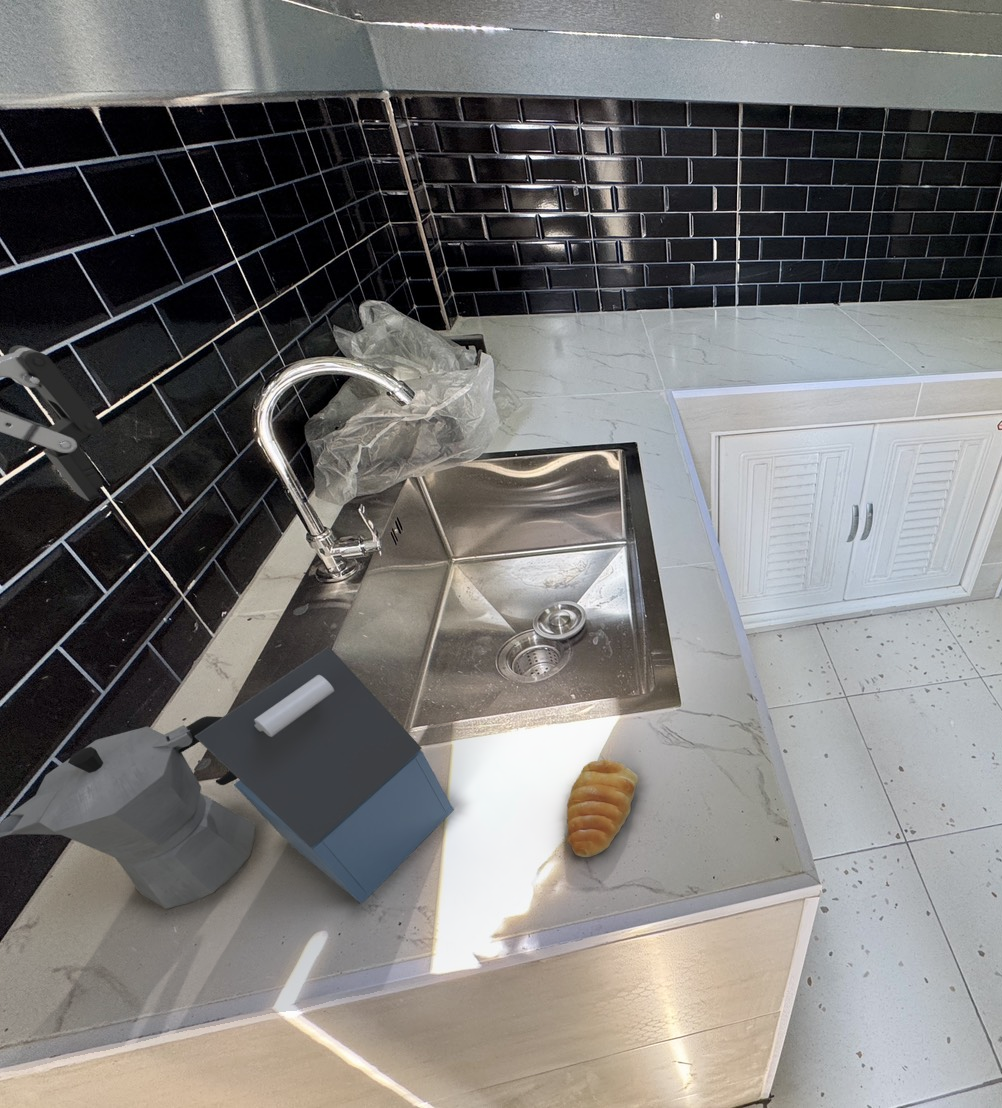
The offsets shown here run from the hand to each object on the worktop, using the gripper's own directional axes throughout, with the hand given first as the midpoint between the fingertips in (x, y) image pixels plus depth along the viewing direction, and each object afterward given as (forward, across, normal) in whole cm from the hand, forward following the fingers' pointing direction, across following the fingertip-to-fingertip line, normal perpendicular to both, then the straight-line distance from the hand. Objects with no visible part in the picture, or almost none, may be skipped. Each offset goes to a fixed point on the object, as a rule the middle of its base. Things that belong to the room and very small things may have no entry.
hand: (14, 525), depth 42 cm
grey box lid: (+20, -4, +15) cm, 25 cm away
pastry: (+36, -17, +33) cm, 51 cm away
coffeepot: (+36, +5, +2) cm, 36 cm away
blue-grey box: (+36, -4, +13) cm, 38 cm away
